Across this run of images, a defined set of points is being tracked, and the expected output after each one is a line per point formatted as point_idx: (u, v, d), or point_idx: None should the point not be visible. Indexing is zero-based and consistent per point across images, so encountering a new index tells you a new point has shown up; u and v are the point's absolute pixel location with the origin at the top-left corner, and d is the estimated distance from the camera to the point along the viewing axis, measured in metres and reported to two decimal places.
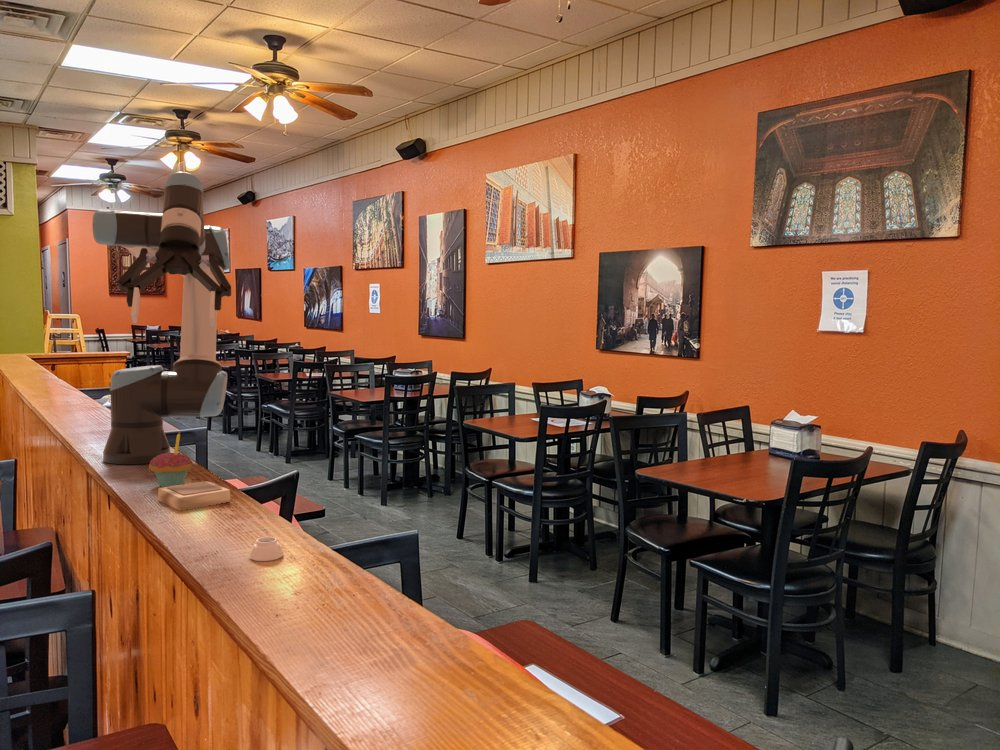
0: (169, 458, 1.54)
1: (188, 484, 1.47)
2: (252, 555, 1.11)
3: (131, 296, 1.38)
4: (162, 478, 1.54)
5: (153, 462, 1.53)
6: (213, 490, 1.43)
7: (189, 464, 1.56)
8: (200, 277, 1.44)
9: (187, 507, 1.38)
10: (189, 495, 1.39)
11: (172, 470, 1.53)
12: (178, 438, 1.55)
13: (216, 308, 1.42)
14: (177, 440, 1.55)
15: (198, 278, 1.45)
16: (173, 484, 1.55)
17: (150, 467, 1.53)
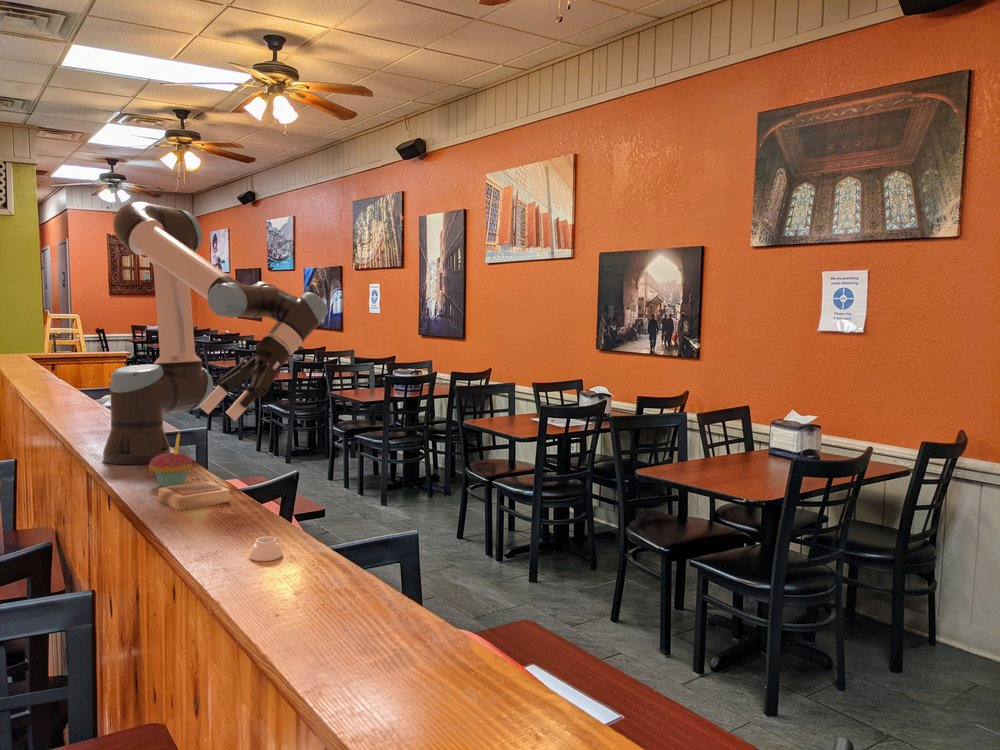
0: (169, 458, 1.54)
1: (188, 484, 1.47)
2: (252, 555, 1.11)
3: None
4: (162, 478, 1.54)
5: (153, 462, 1.53)
6: (213, 490, 1.43)
7: (189, 464, 1.56)
8: (240, 380, 1.71)
9: (187, 507, 1.38)
10: (189, 495, 1.39)
11: (172, 470, 1.53)
12: (178, 438, 1.55)
13: None
14: (177, 440, 1.55)
15: (239, 375, 1.70)
16: (173, 484, 1.55)
17: (150, 467, 1.53)
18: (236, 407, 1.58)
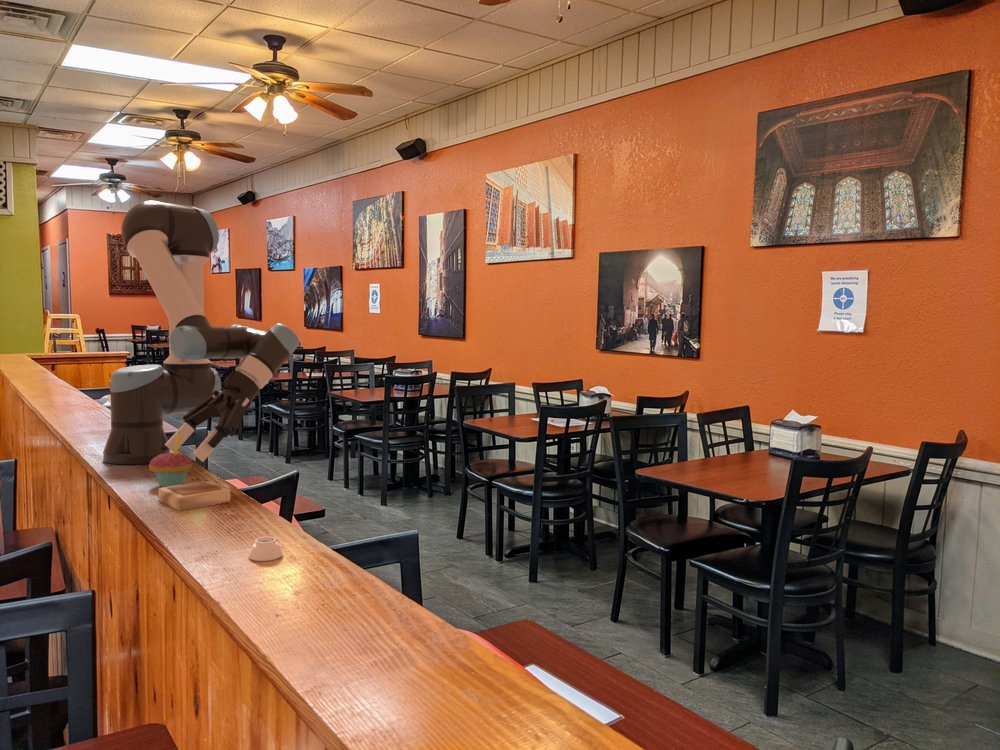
0: (169, 458, 1.54)
1: (188, 484, 1.47)
2: (251, 555, 1.11)
3: None
4: (162, 478, 1.54)
5: (153, 462, 1.53)
6: (213, 490, 1.43)
7: (189, 464, 1.56)
8: (208, 416, 1.64)
9: (187, 507, 1.38)
10: (189, 495, 1.39)
11: (172, 470, 1.53)
12: (178, 438, 1.55)
13: None
14: (177, 440, 1.55)
15: (207, 411, 1.64)
16: (173, 484, 1.55)
17: (150, 467, 1.53)
18: (203, 447, 1.52)
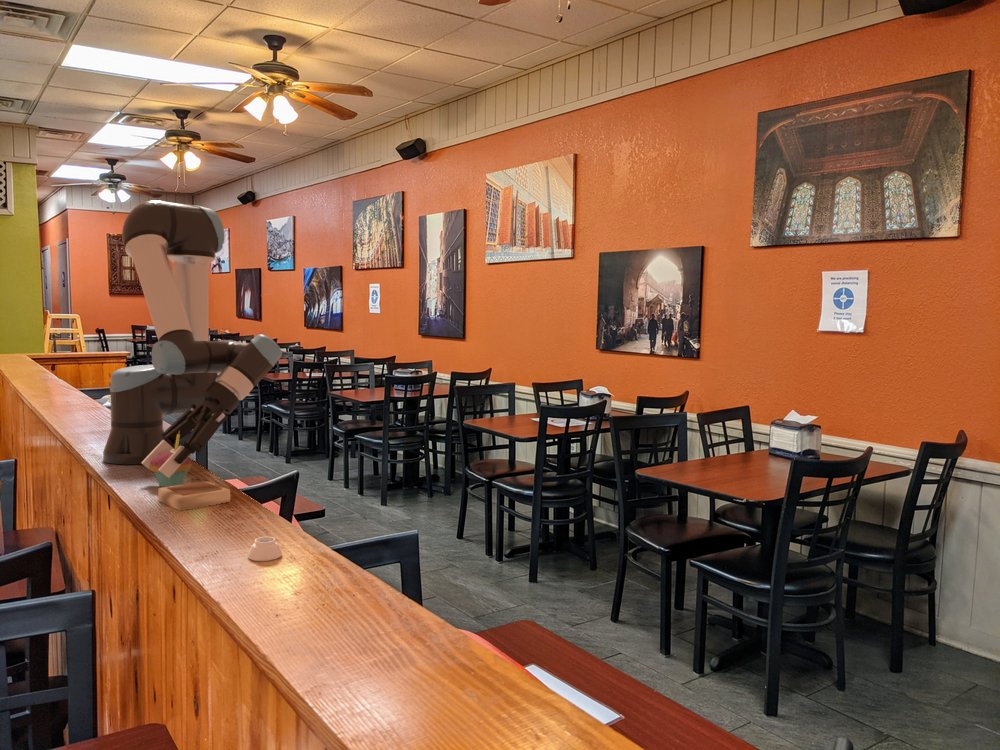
0: None
1: (188, 484, 1.47)
2: (251, 555, 1.11)
3: None
4: (162, 478, 1.54)
5: (153, 462, 1.53)
6: (213, 490, 1.43)
7: (189, 464, 1.56)
8: (187, 431, 1.61)
9: (187, 507, 1.38)
10: (189, 495, 1.39)
11: None
12: (178, 438, 1.55)
13: None
14: (177, 440, 1.55)
15: (186, 425, 1.61)
16: (173, 484, 1.55)
17: (150, 467, 1.53)
18: (169, 463, 1.51)
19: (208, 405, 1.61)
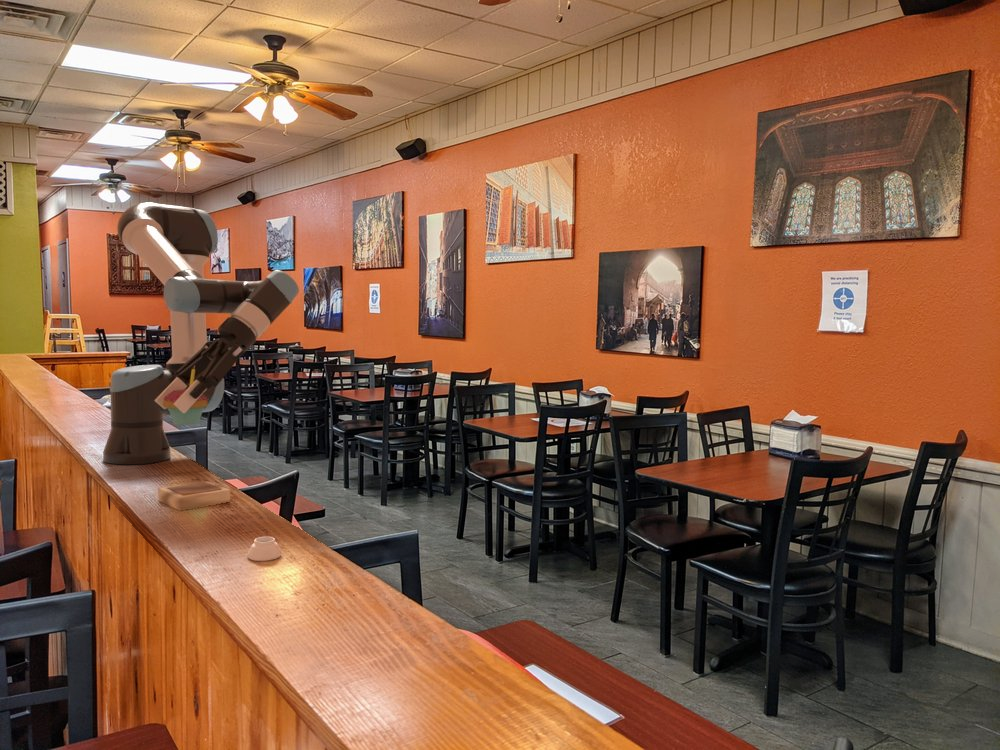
0: None
1: (188, 484, 1.47)
2: (250, 555, 1.12)
3: None
4: (177, 415, 1.46)
5: (167, 398, 1.45)
6: (213, 490, 1.43)
7: (205, 400, 1.48)
8: (202, 369, 1.54)
9: (187, 507, 1.38)
10: (189, 495, 1.39)
11: None
12: (193, 373, 1.48)
13: None
14: (192, 375, 1.47)
15: (201, 362, 1.53)
16: (188, 421, 1.47)
17: (164, 403, 1.45)
18: (185, 398, 1.43)
19: (224, 341, 1.53)
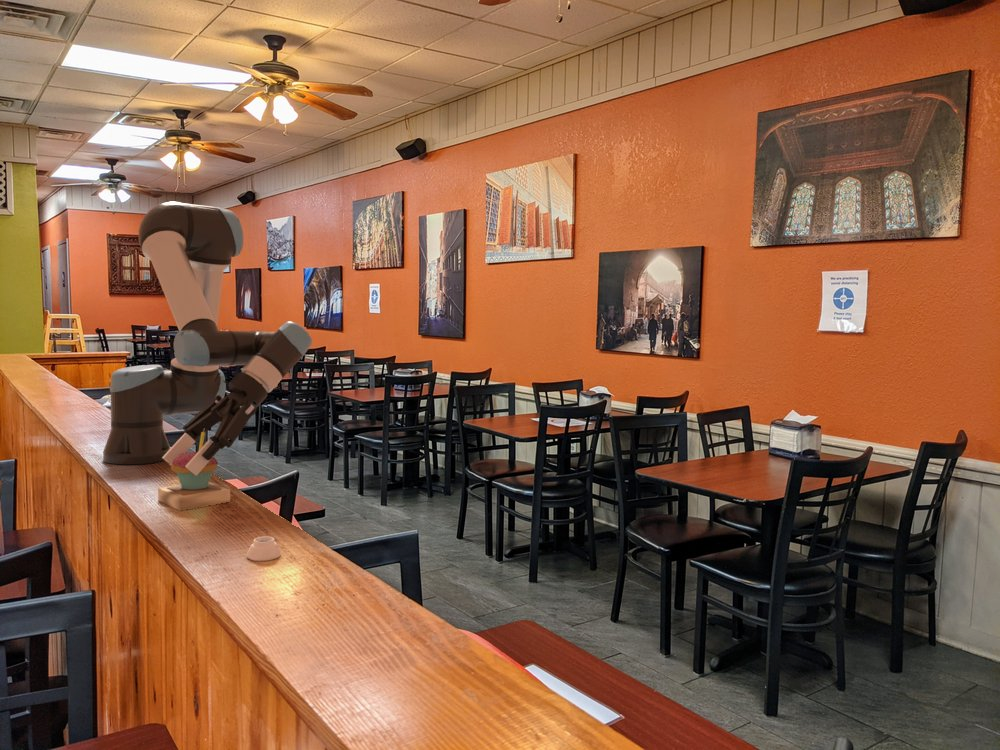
0: None
1: None
2: (249, 555, 1.12)
3: None
4: (185, 480, 1.41)
5: (176, 462, 1.41)
6: (213, 490, 1.43)
7: (214, 464, 1.44)
8: (211, 424, 1.49)
9: (187, 507, 1.38)
10: (189, 495, 1.39)
11: None
12: (203, 436, 1.43)
13: None
14: (201, 438, 1.43)
15: (210, 418, 1.49)
16: (197, 486, 1.42)
17: (172, 467, 1.41)
18: (197, 459, 1.38)
19: (234, 397, 1.49)
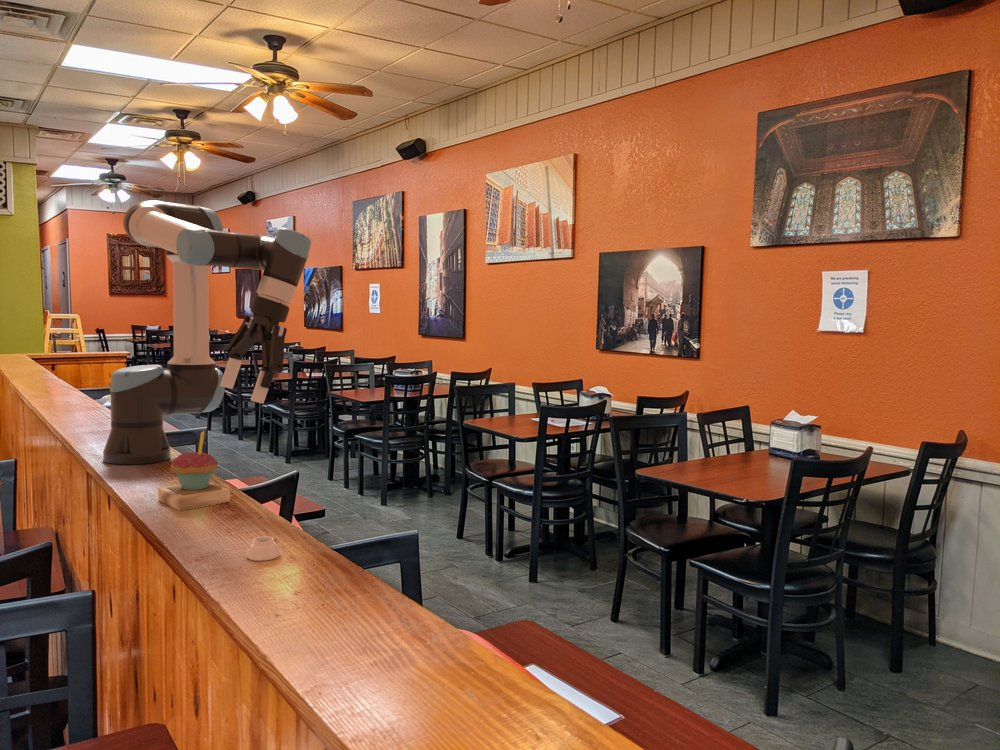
0: (193, 457, 1.41)
1: None
2: (249, 555, 1.12)
3: None
4: (185, 480, 1.41)
5: (175, 462, 1.41)
6: (213, 490, 1.43)
7: (214, 464, 1.44)
8: (249, 346, 1.58)
9: (187, 507, 1.38)
10: (189, 495, 1.39)
11: (196, 471, 1.40)
12: (202, 436, 1.43)
13: None
14: (201, 438, 1.43)
15: (246, 342, 1.57)
16: (197, 486, 1.42)
17: (172, 468, 1.41)
18: (258, 391, 1.49)
19: (261, 322, 1.54)
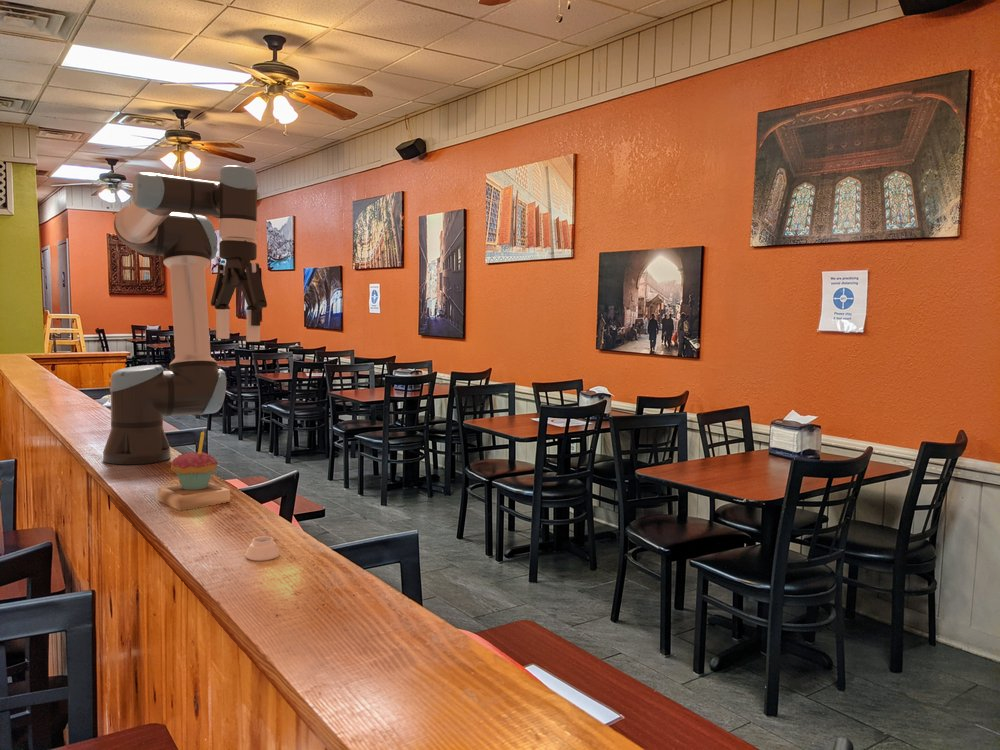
0: (193, 457, 1.41)
1: None
2: (248, 554, 1.12)
3: None
4: (185, 480, 1.41)
5: (175, 462, 1.41)
6: (213, 490, 1.43)
7: (214, 464, 1.44)
8: (231, 292, 1.59)
9: (187, 507, 1.38)
10: (189, 495, 1.39)
11: (196, 471, 1.40)
12: (202, 436, 1.43)
13: None
14: (201, 438, 1.43)
15: (227, 289, 1.58)
16: (197, 486, 1.42)
17: (172, 468, 1.41)
18: (251, 330, 1.51)
19: (233, 265, 1.54)
